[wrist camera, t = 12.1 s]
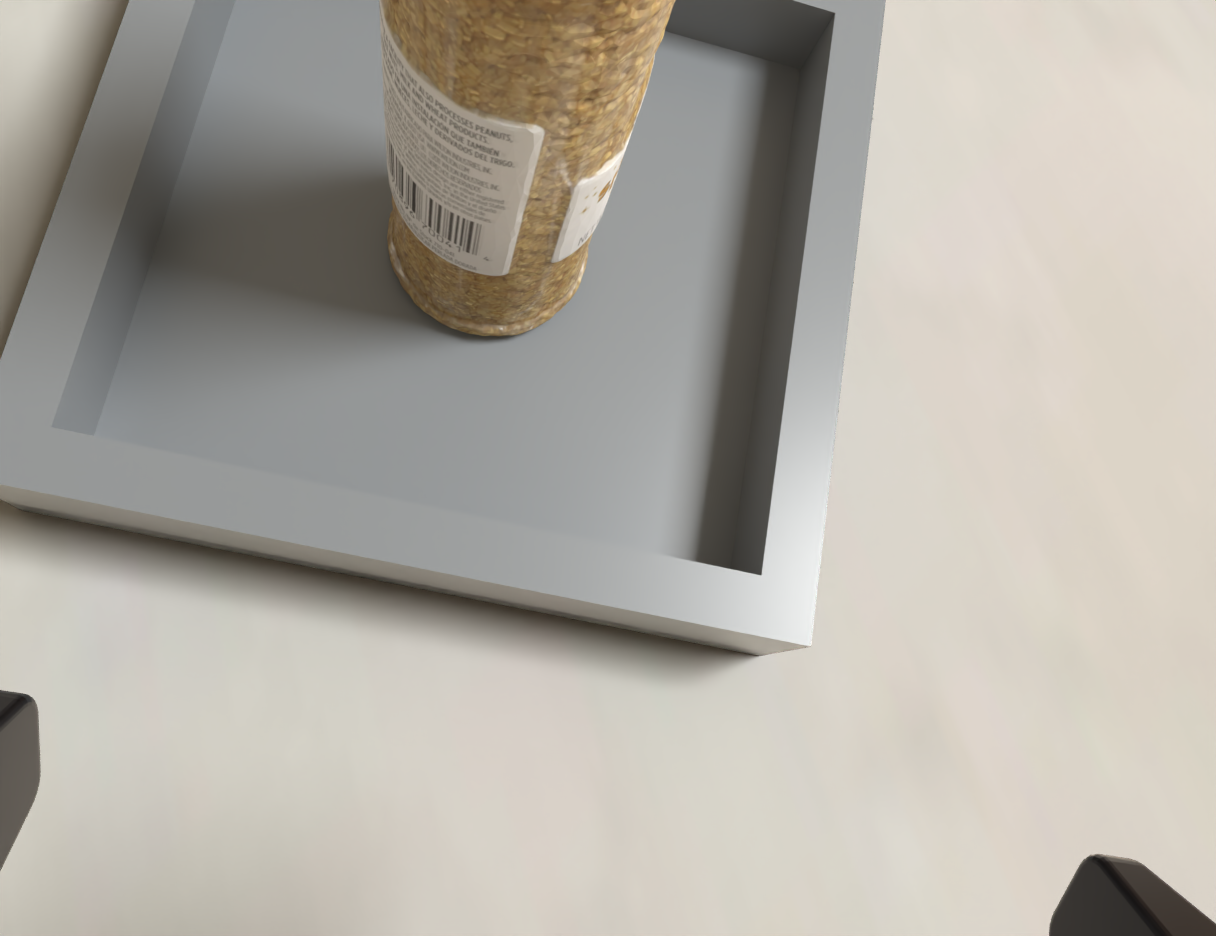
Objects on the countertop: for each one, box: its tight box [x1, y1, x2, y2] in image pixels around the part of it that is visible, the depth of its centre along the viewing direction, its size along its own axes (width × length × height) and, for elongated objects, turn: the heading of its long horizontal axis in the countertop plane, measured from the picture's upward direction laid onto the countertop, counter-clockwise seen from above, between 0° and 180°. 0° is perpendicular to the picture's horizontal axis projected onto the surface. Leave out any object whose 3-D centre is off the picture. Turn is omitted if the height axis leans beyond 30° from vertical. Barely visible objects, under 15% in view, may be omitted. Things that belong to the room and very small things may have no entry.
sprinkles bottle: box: [379, 0, 676, 336], centre depth 17 cm, size 5×5×14 cm
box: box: [0, 0, 886, 656], centre depth 23 cm, size 16×16×3 cm
